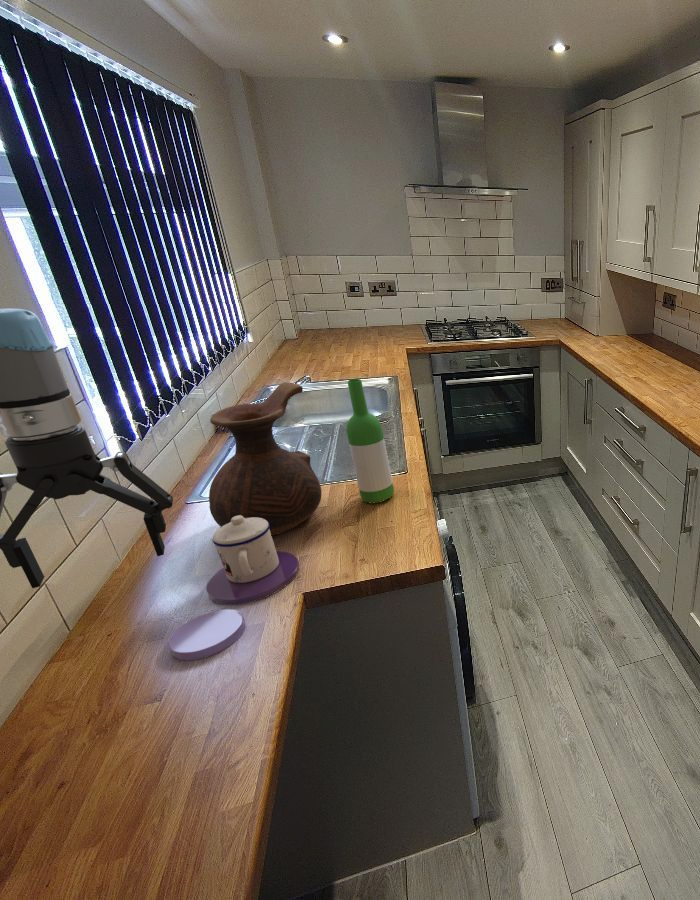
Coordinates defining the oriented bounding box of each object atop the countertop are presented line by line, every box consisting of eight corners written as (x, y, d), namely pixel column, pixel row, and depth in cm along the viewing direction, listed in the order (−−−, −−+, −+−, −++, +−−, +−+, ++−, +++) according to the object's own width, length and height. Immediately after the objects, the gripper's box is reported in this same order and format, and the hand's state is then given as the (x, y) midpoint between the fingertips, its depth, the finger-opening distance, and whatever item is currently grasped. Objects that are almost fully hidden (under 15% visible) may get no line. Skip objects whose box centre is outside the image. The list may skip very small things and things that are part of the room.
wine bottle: (366, 508, 125) (340, 387, 113) (357, 496, 131) (331, 379, 119) (399, 498, 129) (377, 380, 118) (389, 487, 135) (366, 373, 123)
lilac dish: (169, 670, 80) (165, 662, 79) (174, 631, 87) (171, 624, 87) (246, 643, 85) (243, 635, 84) (244, 608, 92) (242, 601, 92)
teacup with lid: (227, 565, 103) (209, 513, 98) (280, 551, 107) (265, 501, 102) (222, 599, 93) (202, 544, 88) (281, 583, 97) (264, 529, 92)
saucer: (207, 616, 91) (205, 610, 90) (209, 572, 102) (207, 567, 102) (303, 585, 98) (302, 580, 98) (295, 548, 110) (294, 543, 109)
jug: (323, 536, 114) (288, 405, 102) (206, 557, 107) (155, 419, 95) (333, 493, 133) (305, 377, 121) (234, 508, 126) (194, 388, 114)
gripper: (-116, 462, 59) (-30, 612, 67) (162, 421, 72) (206, 551, 81) (-88, 442, 65) (-12, 583, 73) (165, 407, 78) (206, 529, 86)
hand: (102, 566), depth 77 cm, fingers open, 13 cm apart
